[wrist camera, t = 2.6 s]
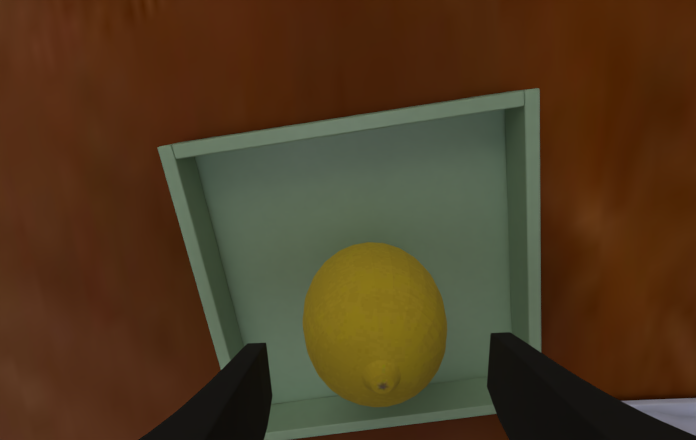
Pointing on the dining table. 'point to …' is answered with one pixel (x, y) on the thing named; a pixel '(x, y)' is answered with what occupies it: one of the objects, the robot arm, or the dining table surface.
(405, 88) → the dining table surface
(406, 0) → the dining table surface
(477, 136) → the tray
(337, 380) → the lemon
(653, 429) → the robot arm
